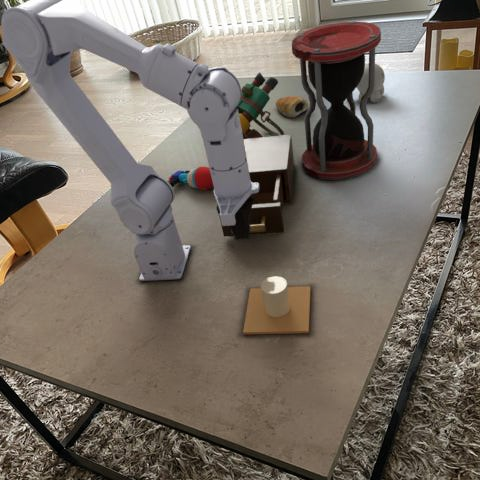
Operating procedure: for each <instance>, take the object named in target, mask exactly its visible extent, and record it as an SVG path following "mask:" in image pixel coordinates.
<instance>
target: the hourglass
mask: <svg viewBox="0 0 480 480" xmlns="http://www.w3.org/2000/svg"><path fill="white" fill-rule="evenodd" d="M381 41H382V31H381V28H380V26H379V25H376V24H374V23H370V22H367V21H356V20H353V21H341V22H334V23H327V24H324V25H320V26H319V25H318V26H316V27H315V26H314V27H312V28H310V29H308V30H305V31H303V32H301V33H299V34H298V35H297V36H295V38H293V39H292V41H291V54H292V55H293V56H294V57H295V58H296V59H299V64H300V76H301V77H300V78H301V79H300V80H301V85H302V88H303V90H304V92H305V93H306V94H307V97H308V100H309V105H308V109H307V110H306V113H305V116H304V130H305V142H306V149H305V150H304V152H303V153H302V154H301V167H302V169H303V170H304V172H305V173H306V174H308V175H309V176H311V177H314V178H317V179H320V180H329V181H336V180H337V181H338V180H346V179H347V180H348V179H351V178H354V177H357V176H360V175H363V174H364V173H366V172H368V171H370V169H372V168H373V167H374V166H375V164H376V163H377V160H378V151H377V146H375V145H374V123H373V120H372V118H371V116H370V115H369V113H368V108H367V103H368V101H369V100H368V98H369V99H370V95H371V94H372V92H373V90H374V83H375V64H376V48H377V47H378V45H379V44H380V42H381ZM366 53H368V63H369V85H368V89H367V91H366V93H365V94H364V95H363V96H362V98H361V101H360V102H359V105H358V108H359V112H360V115H361V117H362V118H363V120H364V121H365V124H366V126H367V139H365V131H364V125H363V123H362V121H361V119H360V118H359V117H358V116H357V115H356V102H355V99H354V96H353V93H354V91H355V90H356V89H357V88H356V87H357V86H358V84H359V83H360V81H361V79H362V77H363V75H364V69H365V65H366V55H365V54H366ZM308 80H309V82H310V84H311V85H312V87H313V89H314V90H315V92H314V90H313V89H312V88H311V86H310V84H309V82H308ZM324 99H325V101H326V102H328V103H330V106H329V108H327V106H326V105H325V102H324ZM367 100H368V101H367ZM345 101H346V102H347V103H348V106H349V107H347V105H345V103H344V102H345ZM316 107H317V108H318V109H319V110H320V118H319V120H318V121H317V123H316V124H315V125H314V129H313V133H312V132H311V117H312V114H313V113H314V112H315V111H316Z"/></svg>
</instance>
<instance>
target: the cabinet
mask: <svg viewBox="0 0 480 480" xmlns="http://www.w3.org/2000/svg"><path fill="white" fill-rule="evenodd" d="M279 135H280V136H273V135H272V136H263V137H261V138H251V139H243V140H244V145H245V151H246V157H247V163H248V169H249V175H250V176H255V175H267V174H278V173H282V176H283V185H284V200H283V205H284V204H285V205H286V204H292V203H291V202H292V195H293V194H292V193H293V184H294V175H295V159H294V149H293V138H292V134H285V135H281V134H279Z"/></svg>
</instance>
